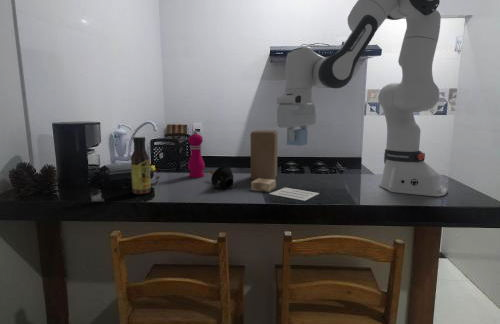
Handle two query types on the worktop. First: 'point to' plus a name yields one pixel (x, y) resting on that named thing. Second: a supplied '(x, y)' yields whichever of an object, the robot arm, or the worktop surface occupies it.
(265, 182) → the oak block
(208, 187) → the worktop surface
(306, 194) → the recipe card
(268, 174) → the block
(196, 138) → the pepper mill
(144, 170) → the sauce bottle
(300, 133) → the blue cube
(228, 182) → the black rounded dome
